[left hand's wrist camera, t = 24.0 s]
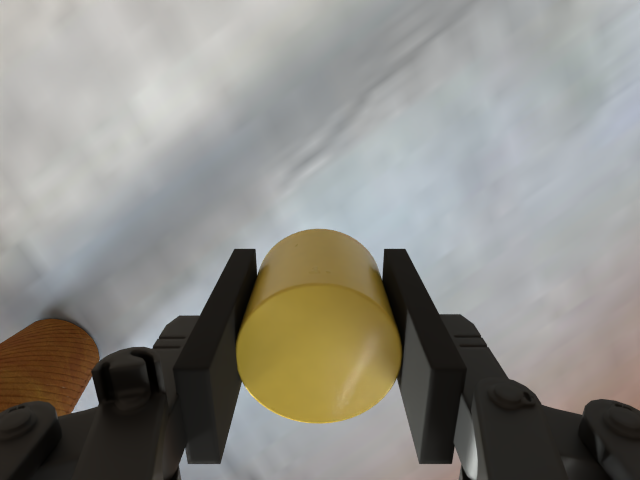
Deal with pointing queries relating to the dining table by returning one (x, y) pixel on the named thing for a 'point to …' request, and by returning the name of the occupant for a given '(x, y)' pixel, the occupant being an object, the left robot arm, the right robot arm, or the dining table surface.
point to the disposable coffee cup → (46, 365)
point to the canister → (318, 330)
